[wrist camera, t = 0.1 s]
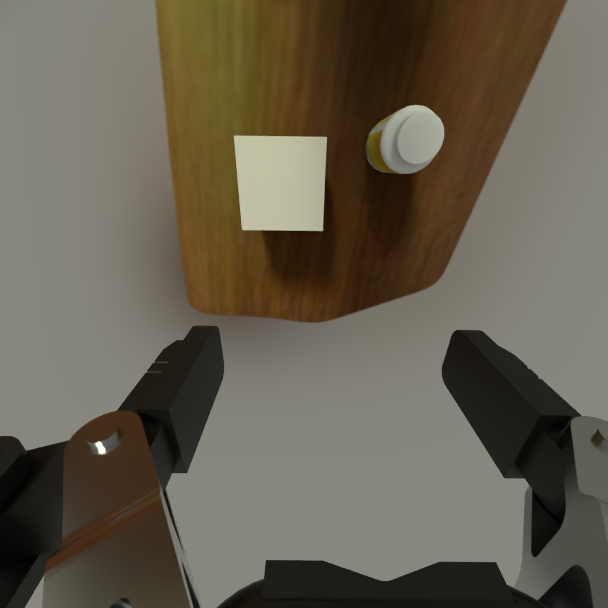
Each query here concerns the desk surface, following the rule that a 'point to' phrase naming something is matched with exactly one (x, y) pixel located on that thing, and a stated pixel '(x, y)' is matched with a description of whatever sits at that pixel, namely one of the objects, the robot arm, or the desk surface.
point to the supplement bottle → (405, 140)
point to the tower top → (281, 182)
